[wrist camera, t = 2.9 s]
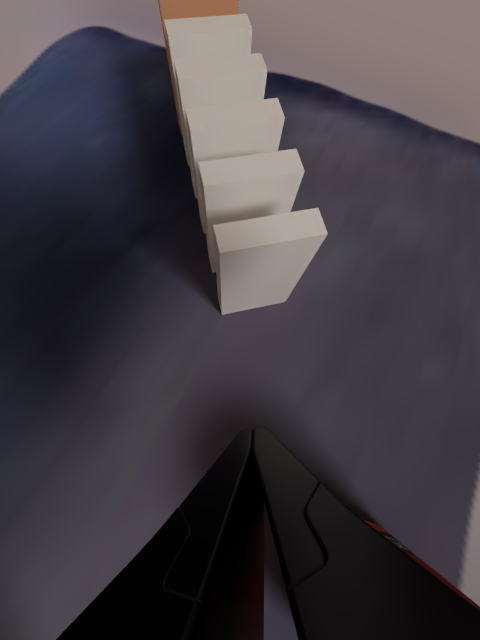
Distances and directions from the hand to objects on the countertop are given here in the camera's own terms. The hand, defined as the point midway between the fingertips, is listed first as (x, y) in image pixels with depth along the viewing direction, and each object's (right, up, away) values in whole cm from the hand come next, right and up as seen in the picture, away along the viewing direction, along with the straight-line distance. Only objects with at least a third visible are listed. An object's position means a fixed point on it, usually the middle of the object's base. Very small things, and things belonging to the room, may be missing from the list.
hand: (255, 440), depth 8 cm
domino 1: (+1, +6, +15) cm, 16 cm away
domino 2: (0, +9, +16) cm, 18 cm away
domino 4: (-2, +17, +18) cm, 25 cm away
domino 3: (-1, +13, +17) cm, 21 cm away
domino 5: (-3, +21, +19) cm, 28 cm away
